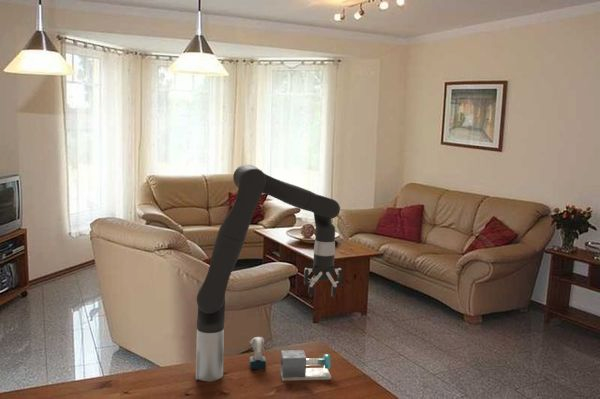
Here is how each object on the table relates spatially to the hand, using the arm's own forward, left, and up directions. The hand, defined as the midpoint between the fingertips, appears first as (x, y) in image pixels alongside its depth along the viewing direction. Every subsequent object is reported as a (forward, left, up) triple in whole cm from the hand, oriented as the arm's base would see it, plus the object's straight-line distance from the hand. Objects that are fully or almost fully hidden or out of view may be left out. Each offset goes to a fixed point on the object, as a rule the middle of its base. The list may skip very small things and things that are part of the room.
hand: (321, 296), depth 202 cm
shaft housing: (-6, -10, -26) cm, 28 cm away
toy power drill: (-23, -2, -26) cm, 35 cm away
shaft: (-5, -10, -23) cm, 26 cm away
